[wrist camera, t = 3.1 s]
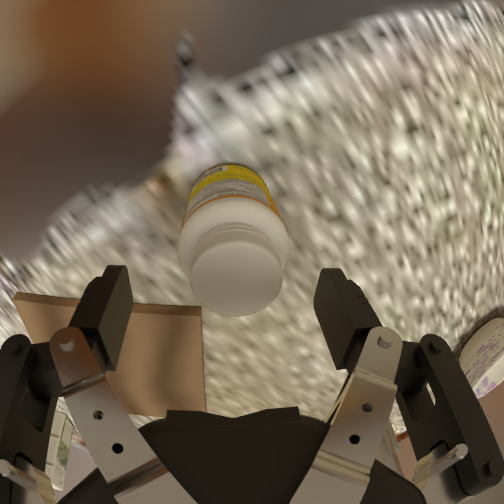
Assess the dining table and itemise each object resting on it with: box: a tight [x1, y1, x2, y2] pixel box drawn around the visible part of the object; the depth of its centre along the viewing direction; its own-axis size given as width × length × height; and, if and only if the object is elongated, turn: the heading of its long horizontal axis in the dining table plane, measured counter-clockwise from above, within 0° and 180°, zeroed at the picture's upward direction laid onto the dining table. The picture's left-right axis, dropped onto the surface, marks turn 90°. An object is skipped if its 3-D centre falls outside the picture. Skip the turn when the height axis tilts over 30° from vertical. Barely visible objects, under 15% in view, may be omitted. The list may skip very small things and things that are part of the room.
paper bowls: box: [459, 318, 504, 399], centre depth 32 cm, size 15×15×8 cm
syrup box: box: [45, 411, 74, 491], centre depth 31 cm, size 6×6×14 cm
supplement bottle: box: [178, 163, 290, 316], centre depth 16 cm, size 5×5×10 cm
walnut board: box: [12, 292, 207, 418], centre depth 28 cm, size 20×20×1 cm
